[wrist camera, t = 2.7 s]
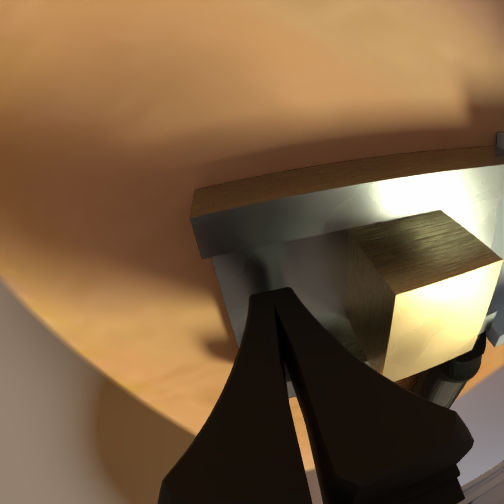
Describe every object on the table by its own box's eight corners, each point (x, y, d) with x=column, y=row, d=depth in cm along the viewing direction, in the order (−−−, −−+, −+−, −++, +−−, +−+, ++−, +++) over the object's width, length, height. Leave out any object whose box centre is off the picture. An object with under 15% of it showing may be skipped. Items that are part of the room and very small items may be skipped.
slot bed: (496, 146, 9) (531, 161, 8) (469, 303, 14) (490, 328, 12) (194, 190, 9) (189, 217, 8) (246, 367, 14) (251, 405, 12)
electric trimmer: (368, 445, 21) (379, 476, 19) (423, 315, 13) (455, 363, 10) (407, 432, 21) (419, 461, 19) (477, 298, 13) (510, 338, 11)
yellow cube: (442, 211, 10) (503, 259, 7) (430, 294, 12) (472, 349, 9) (347, 230, 10) (395, 295, 7) (347, 318, 12) (379, 386, 9)
